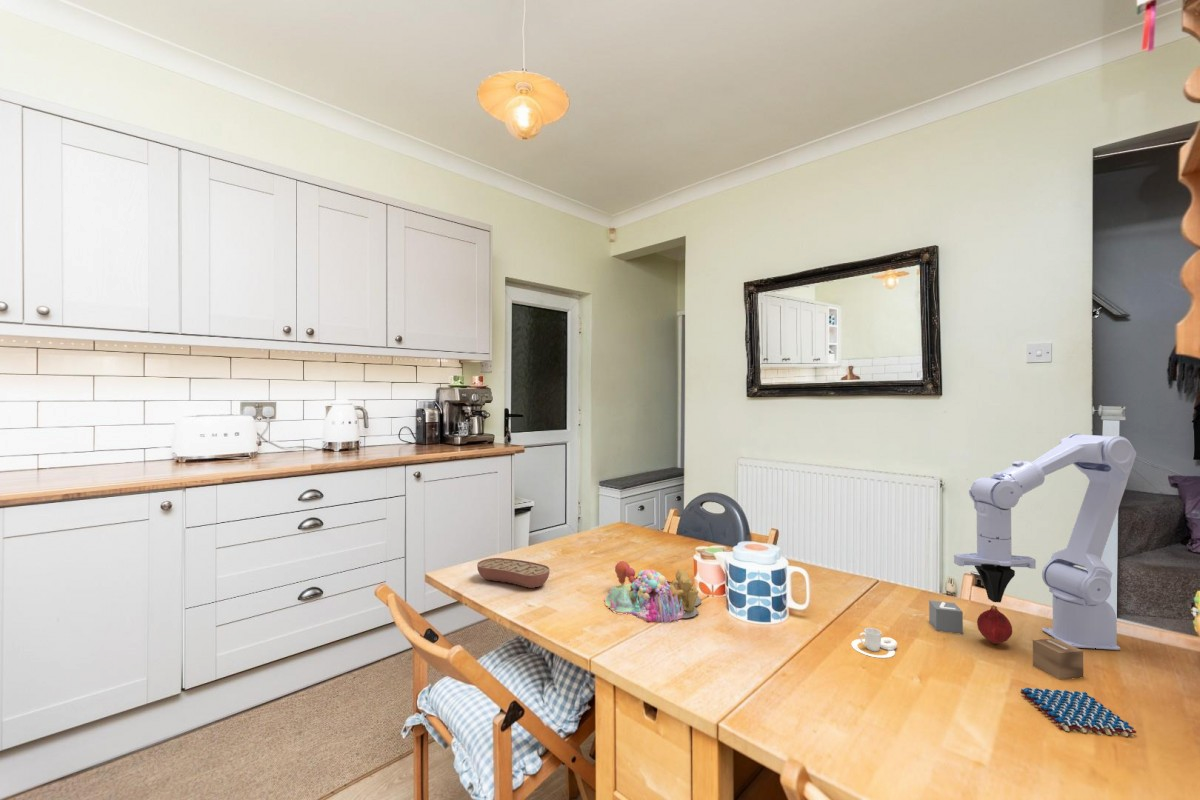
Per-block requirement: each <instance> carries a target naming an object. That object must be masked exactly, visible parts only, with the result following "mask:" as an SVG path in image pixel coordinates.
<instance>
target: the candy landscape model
mask: <svg viewBox="0 0 1200 800" xmlns="http://www.w3.org/2000/svg"><path fill="white" fill-rule="evenodd" d="M614 571H615V574H616V577H617V578H618V582H619V584H620V585H618V586H611V587H610V589H608V593H607V594H606V595H605V598H604V600H605V601H604V600H603V601H604V605H605V604H606V605H607V606H608V607H609V608H610V609H611V610H612V611H615V612H617V613H623V614H626V613H627V614H626V615H628V614H633V615H632V616H636V615H637V616H638V617H637V616H636V617H637V618H639V619H640V618H643V619H644V620H643V619H642V620H643V621H645V620H647V621H646V622H650V623H651V622H660V623H663V622H664V624H666V622H669V623H670V624H671V622H672V621H674V622H677V623H679V620H680V619H689V618H692V617H696V615H699V613H700V612H699V610H697V609H698V608H697V607H696V606H699V605H700V604H701V603H702V599H701V598H700V596H698V595H699V590H698V589H697V588H696V586H695V585H694V582H693V581H692V580H691V579H690V577H689V573H688V572H687V571H686V570H682V569H677V570H676V573H675V579H673V580H671V581H669V580H667V578H666V576H664V575H663V574H662V573H660V572H658V571H655V569H647V568H646V569H643V570H640V571H639V572H638V574H637V576H636V570H635V569H634V568H633V567H630V564H629V563H628V562H626V561H623V560H622V561H619V562H617V563H616V564H615V567H614ZM626 578H627V579H628V582H629V583H626ZM609 608H608V609H609ZM610 609H609V610H610ZM611 610H610V611H611ZM612 611H611V612H612ZM617 613H616V614H617ZM623 614H622V615H623Z"/></svg>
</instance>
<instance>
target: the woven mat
mask: <svg viewBox="0 0 1200 800" xmlns="http://www.w3.org/2000/svg"><path fill="white" fill-rule="evenodd" d="M1020 694H1022V696H1023V698H1024V699H1026V700H1028V701H1029V702H1030V703H1031V704H1032V705H1033V706H1034V707H1036V709H1037V710H1038V711H1040V712H1042V714H1044V715H1045V717H1047V718H1048V719H1050V721H1052V722H1053V723H1054V724H1055V725H1057V727H1058V728H1059V729H1061V730H1062V731H1064V732H1071V731H1072V732H1074V733H1078V731H1079V732H1080V733H1081V734H1086V733H1089V734H1093V733H1096V734H1097V735H1098V736H1105V734H1106V735H1107V736H1112V735H1113V736H1119V735H1118V734H1120V736H1121V737H1128V736H1129V737H1130V738H1135V737H1136V736H1135V735H1134V734H1137V730H1135V729H1134V727H1133V726H1131V725H1129V724H1130V723H1129V722H1128V721H1125V720H1123V719H1121V717H1120V716H1119V715H1118V714H1117V715H1116V714H1115V713H1114V712H1113V711H1112V710H1111V709H1110V708H1106V707H1105V706H1104V704H1103V703H1100V702H1098V701H1096V698H1094V697H1092V696H1090V695H1089V694H1088V692H1086V691H1084V692H1083V691H1082V692H1081V691H1077V690H1074V691H1072V690H1066V689H1065V690H1064V689H1054V690H1053V689H1048V688H1045V689H1044V688H1038V687H1036V688H1034V687H1033V688H1032V687H1029V686H1028V687H1025V688H1021V689H1020ZM1077 730H1078V731H1077ZM1093 731H1094V732H1093Z"/></svg>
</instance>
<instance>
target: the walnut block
mask: <svg viewBox="0 0 1200 800" xmlns="http://www.w3.org/2000/svg"><path fill="white" fill-rule="evenodd" d="M1032 666H1033V667H1035V668H1037V669H1039V670H1040V671H1043V672H1045V673H1046V674H1048V675H1050V676H1051V677H1053V678H1056V679H1058V680H1060V681H1061V680H1072V678H1074V679H1081V678H1080V677H1083V678H1084V650H1081V648H1077V647H1073V646H1071V645H1069V644H1067V643H1065V642H1062V641H1060V640H1058V639H1056V638H1054V637H1052V638H1043V639H1032Z"/></svg>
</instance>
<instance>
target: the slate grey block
mask: <svg viewBox="0 0 1200 800" xmlns="http://www.w3.org/2000/svg"><path fill="white" fill-rule="evenodd" d="M928 604H929V605H928V609H929V610H928V612H929V613H928V615H929V617H928V618H929V623H930V625H931V626H932V627H933V628H935V629H934V630H935V631H936V632H940V631H943V632H942V633H949V632H952V634H957V633H960V634H959V635H963V634H964V631H963V630H964V629H963V628H964V625H963V624H964V620H963V618H964V616H963V615H964V613H963V612H964V611H962V609H961V608H960V606H958V605H957V604H956V603H955V602H951V601H950V602H948V601H941V600H938V601H937V600H929V601H928Z"/></svg>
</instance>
